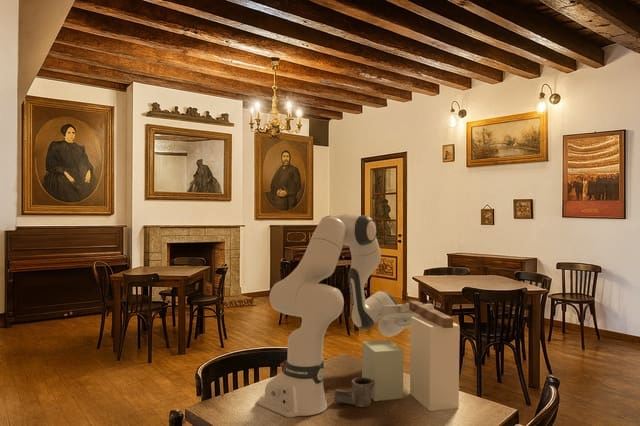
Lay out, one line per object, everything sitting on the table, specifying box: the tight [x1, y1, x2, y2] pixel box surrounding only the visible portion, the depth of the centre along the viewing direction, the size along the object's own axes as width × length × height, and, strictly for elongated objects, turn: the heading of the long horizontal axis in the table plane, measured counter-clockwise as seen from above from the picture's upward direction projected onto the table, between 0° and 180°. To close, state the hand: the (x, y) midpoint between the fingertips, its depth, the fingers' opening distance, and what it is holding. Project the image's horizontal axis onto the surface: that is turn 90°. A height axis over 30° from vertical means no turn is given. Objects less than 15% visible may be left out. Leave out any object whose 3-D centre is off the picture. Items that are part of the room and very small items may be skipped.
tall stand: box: [409, 316, 461, 412], centre depth 150 cm, size 14×10×26 cm
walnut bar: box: [407, 299, 454, 328], centre depth 154 cm, size 26×3×3 cm, turn 14°
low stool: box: [361, 339, 404, 402], centre depth 157 cm, size 12×10×16 cm
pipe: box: [333, 376, 375, 408], centre depth 146 cm, size 6×13×8 cm, turn 81°
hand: (414, 304), depth 164 cm, fingers closed on walnut bar, 3 cm apart
